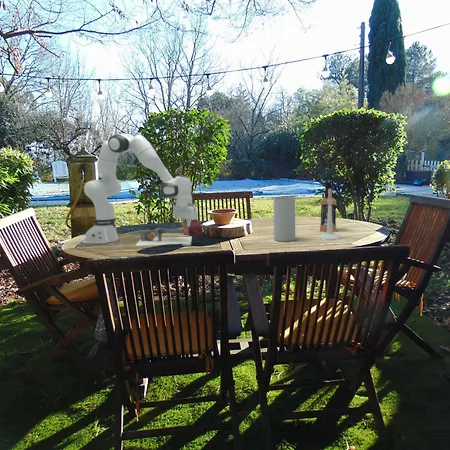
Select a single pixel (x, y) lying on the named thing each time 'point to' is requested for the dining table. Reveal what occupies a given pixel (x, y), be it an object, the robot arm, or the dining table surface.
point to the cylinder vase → (284, 219)
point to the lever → (172, 230)
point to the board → (162, 239)
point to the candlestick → (329, 221)
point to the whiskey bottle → (325, 210)
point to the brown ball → (150, 237)
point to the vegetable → (195, 228)
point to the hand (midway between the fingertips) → (185, 226)
